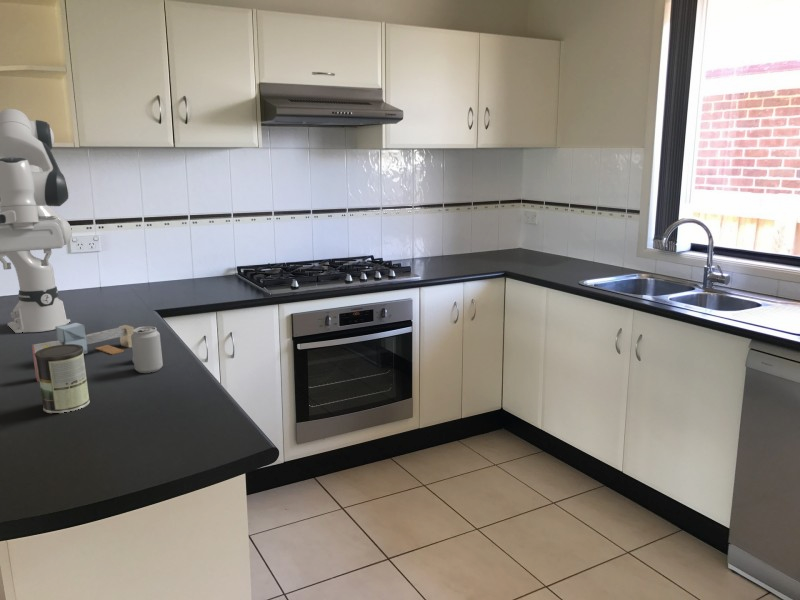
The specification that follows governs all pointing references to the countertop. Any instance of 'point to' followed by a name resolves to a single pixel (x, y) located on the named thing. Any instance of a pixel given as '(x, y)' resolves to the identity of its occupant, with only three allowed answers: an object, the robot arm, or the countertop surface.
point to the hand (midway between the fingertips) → (26, 267)
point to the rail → (121, 332)
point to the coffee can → (62, 378)
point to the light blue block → (72, 335)
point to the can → (146, 349)
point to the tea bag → (38, 347)
